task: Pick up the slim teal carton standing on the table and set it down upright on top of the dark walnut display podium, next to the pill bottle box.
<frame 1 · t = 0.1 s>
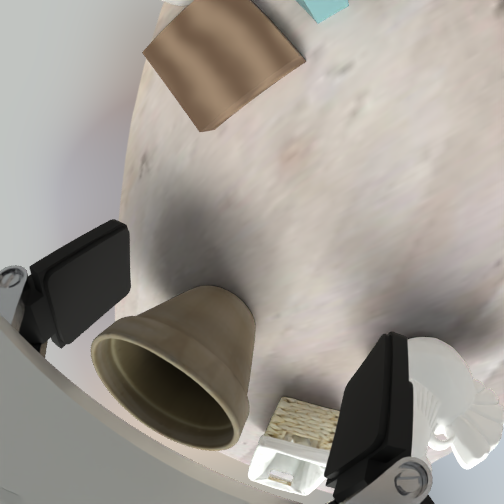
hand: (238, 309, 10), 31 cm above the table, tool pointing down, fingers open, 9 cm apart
teal carton: (321, 1, 26), on the table
storage basket: (303, 424, 62), on the table
display podium: (224, 53, 34), on the table
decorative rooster: (431, 364, 43), on the table
plant pot: (221, 316, 55), on the table
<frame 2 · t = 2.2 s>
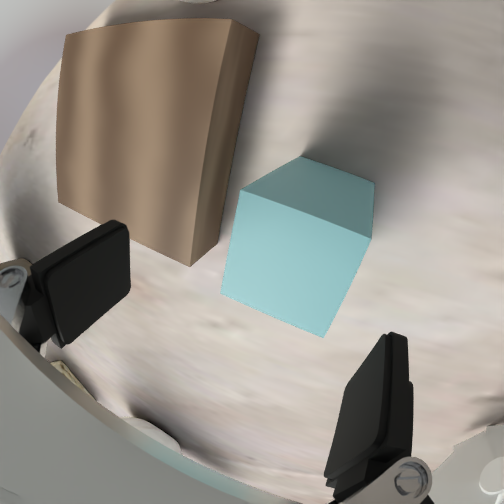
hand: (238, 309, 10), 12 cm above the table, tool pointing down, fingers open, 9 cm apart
teal carton: (326, 204, 19), on the table
storage basket: (71, 382, 65), on the table
spiral staircase: (492, 453, 22), on the table
display podium: (147, 124, 21), on the table
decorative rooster: (168, 441, 52), on the table
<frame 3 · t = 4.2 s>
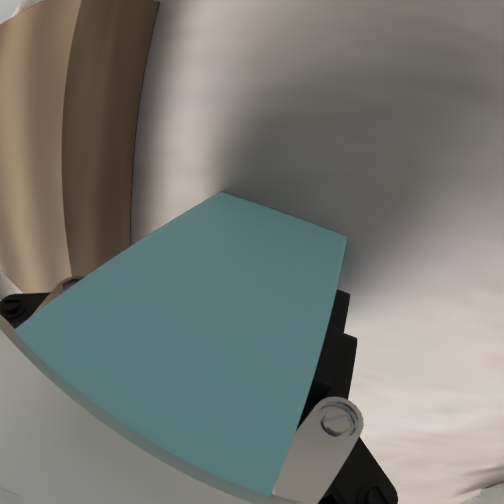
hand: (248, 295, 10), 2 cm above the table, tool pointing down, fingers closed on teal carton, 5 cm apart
teal carton: (266, 268, 12), on the table, touching gripper
display podium: (44, 149, 14), on the table
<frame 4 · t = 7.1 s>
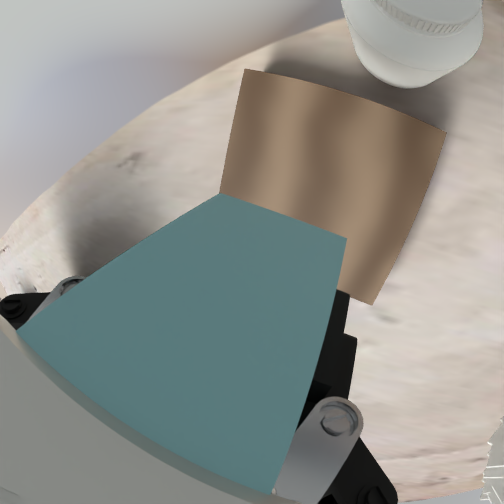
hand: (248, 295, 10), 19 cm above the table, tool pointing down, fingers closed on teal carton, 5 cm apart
teal carton: (266, 270, 12), point 17 cm above the table, touching gripper
pill bottle: (398, 47, 18), on the table
display podium: (324, 179, 26), on the table
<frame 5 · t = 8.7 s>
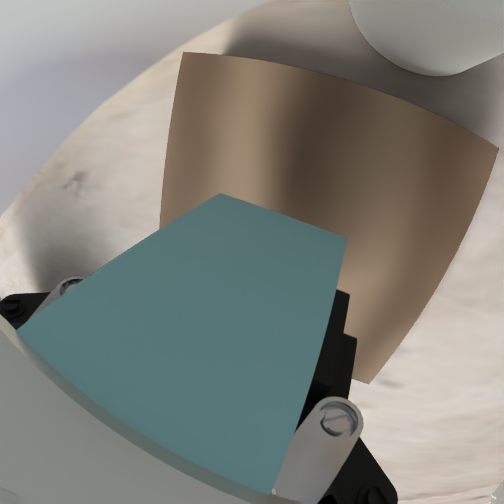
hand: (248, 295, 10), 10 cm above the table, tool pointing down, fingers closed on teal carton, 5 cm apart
teal carton: (265, 270, 12), point 8 cm above the table, touching gripper
pill bottle: (416, 17, 11), on the table
display podium: (309, 211, 18), on the table
when the fingers open (7 cm above the table, at t = 10.0 s): teal carton drops 1 cm, resting on display podium.
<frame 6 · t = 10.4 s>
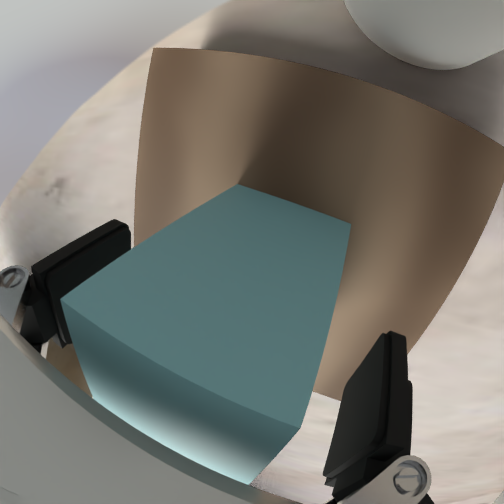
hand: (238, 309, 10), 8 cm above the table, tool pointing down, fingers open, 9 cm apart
teal carton: (278, 254, 13), point 4 cm above the table, touching display podium
pill bottle: (417, 4, 9), on the table
display podium: (297, 222, 17), on the table
plant pot: (68, 354, 40), on the table
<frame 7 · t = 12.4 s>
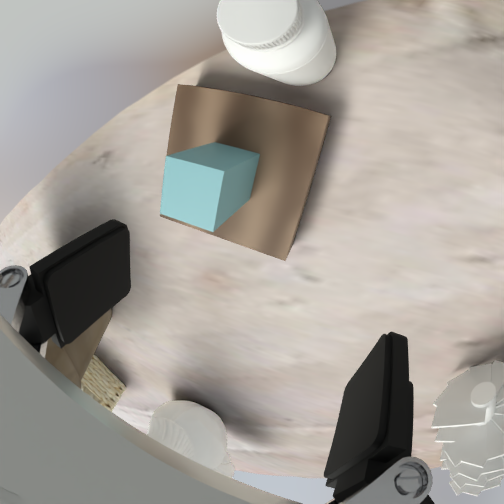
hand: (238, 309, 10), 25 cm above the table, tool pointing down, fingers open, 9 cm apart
teal carton: (231, 170, 30), point 4 cm above the table, touching display podium
storage basket: (98, 374, 73), on the table
pill bottle: (299, 53, 26), on the table
spiral staircase: (478, 394, 37), on the table
display podium: (244, 163, 34), on the table
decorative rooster: (208, 420, 63), on the table
plant pot: (89, 294, 56), on the table
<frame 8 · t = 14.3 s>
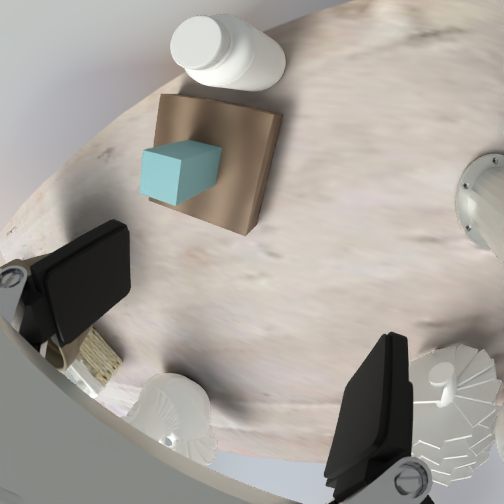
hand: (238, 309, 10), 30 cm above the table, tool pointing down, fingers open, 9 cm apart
teal carton: (201, 161, 37), point 4 cm above the table, touching display podium
storage basket: (99, 351, 82), on the table
pill bottle: (257, 63, 33), on the table
spiral staircase: (448, 380, 42), on the table
display podium: (215, 156, 40), on the table
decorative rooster: (196, 395, 70), on the table
plant pot: (93, 273, 64), on the table
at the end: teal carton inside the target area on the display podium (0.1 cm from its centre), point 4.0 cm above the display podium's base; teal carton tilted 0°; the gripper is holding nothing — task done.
